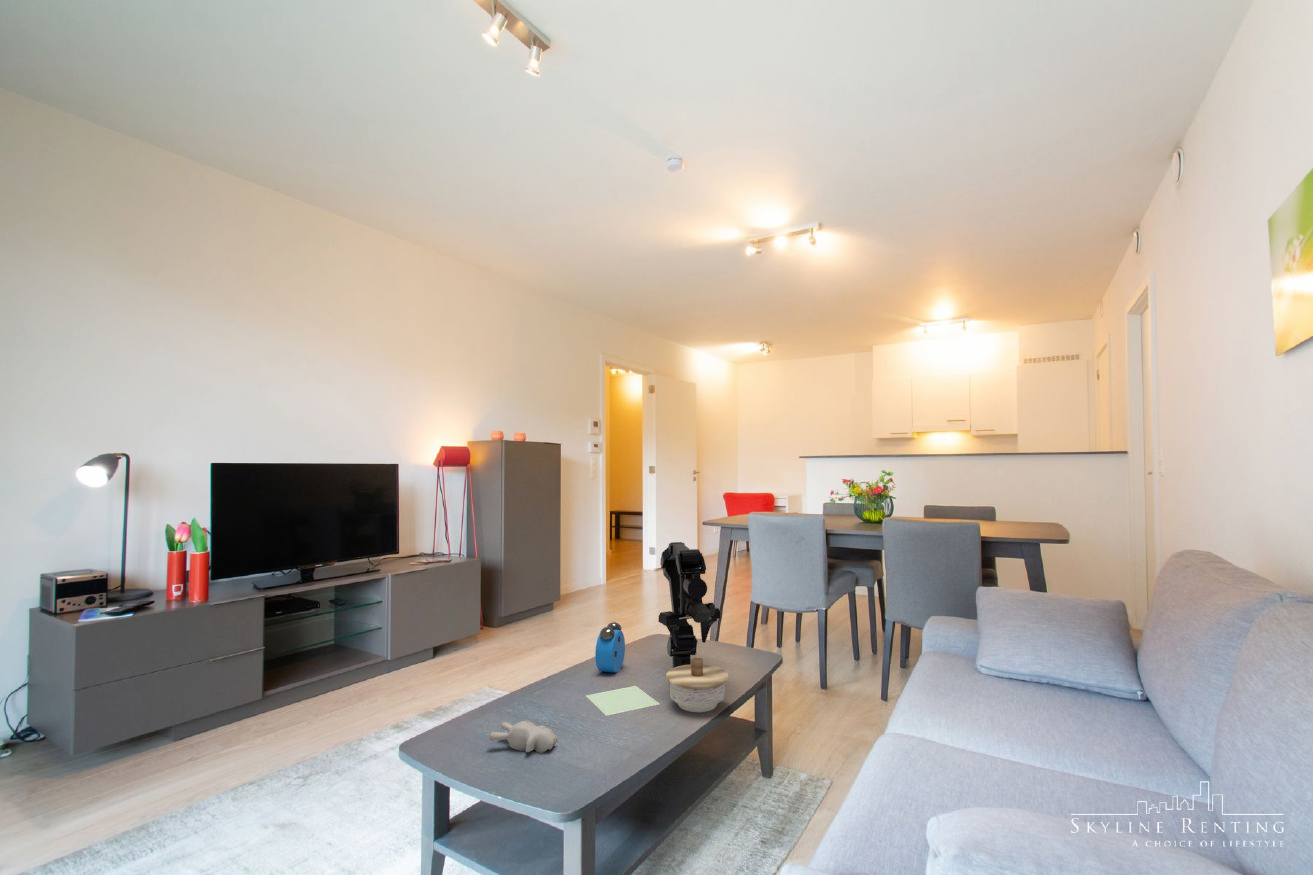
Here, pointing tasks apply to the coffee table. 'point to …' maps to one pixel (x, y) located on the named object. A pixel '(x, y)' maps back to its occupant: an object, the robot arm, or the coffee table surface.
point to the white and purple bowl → (697, 698)
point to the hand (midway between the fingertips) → (690, 644)
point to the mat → (621, 700)
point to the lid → (697, 675)
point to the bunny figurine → (526, 736)
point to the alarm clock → (610, 648)
